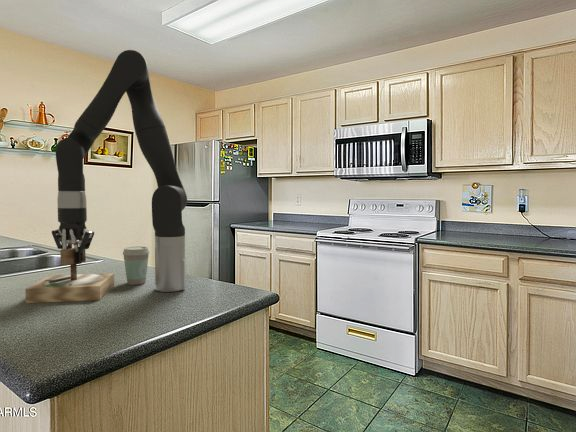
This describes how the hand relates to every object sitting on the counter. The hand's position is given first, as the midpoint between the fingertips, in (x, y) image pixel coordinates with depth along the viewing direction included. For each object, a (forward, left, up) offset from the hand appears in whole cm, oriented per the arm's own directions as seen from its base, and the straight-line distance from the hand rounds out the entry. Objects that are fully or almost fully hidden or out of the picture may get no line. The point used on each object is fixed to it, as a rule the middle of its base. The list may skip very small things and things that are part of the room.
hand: (73, 263), depth 113 cm
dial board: (0, 0, -9) cm, 9 cm away
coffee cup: (-16, -11, -10) cm, 22 cm away
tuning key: (+1, +2, -5) cm, 6 cm away
